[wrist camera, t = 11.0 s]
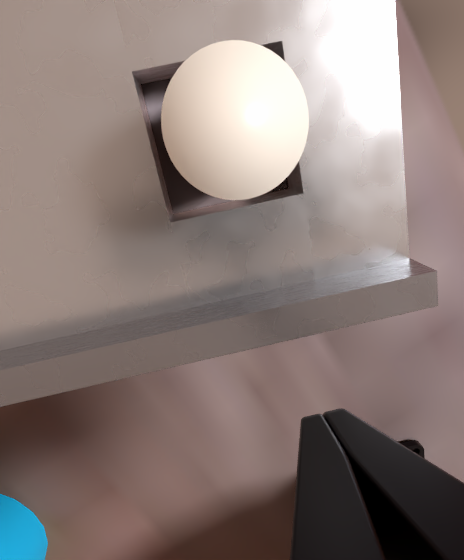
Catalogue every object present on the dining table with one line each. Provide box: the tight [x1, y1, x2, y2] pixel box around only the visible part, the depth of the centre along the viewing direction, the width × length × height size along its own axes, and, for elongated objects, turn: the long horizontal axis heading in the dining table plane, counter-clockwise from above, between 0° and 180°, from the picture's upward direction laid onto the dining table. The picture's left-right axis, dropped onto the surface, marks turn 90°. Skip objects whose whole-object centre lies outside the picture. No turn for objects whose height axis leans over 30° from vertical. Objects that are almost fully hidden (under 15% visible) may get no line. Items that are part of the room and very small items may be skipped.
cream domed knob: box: [161, 40, 309, 200], centre depth 14 cm, size 4×4×7 cm
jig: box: [0, 0, 438, 407], centre depth 15 cm, size 16×20×4 cm
